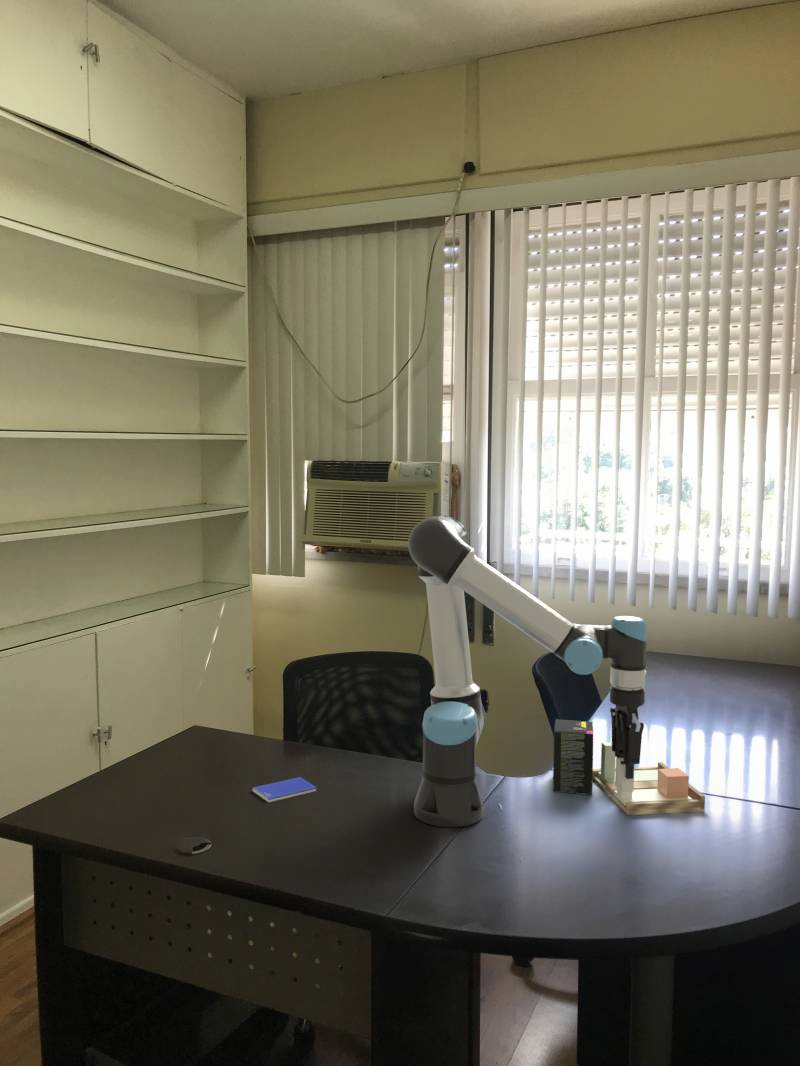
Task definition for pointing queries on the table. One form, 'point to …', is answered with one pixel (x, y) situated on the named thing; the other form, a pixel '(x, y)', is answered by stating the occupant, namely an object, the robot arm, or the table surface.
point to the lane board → (656, 806)
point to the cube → (673, 783)
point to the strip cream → (640, 793)
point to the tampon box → (573, 756)
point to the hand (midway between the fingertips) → (624, 788)
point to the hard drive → (284, 789)
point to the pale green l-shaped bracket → (609, 767)
